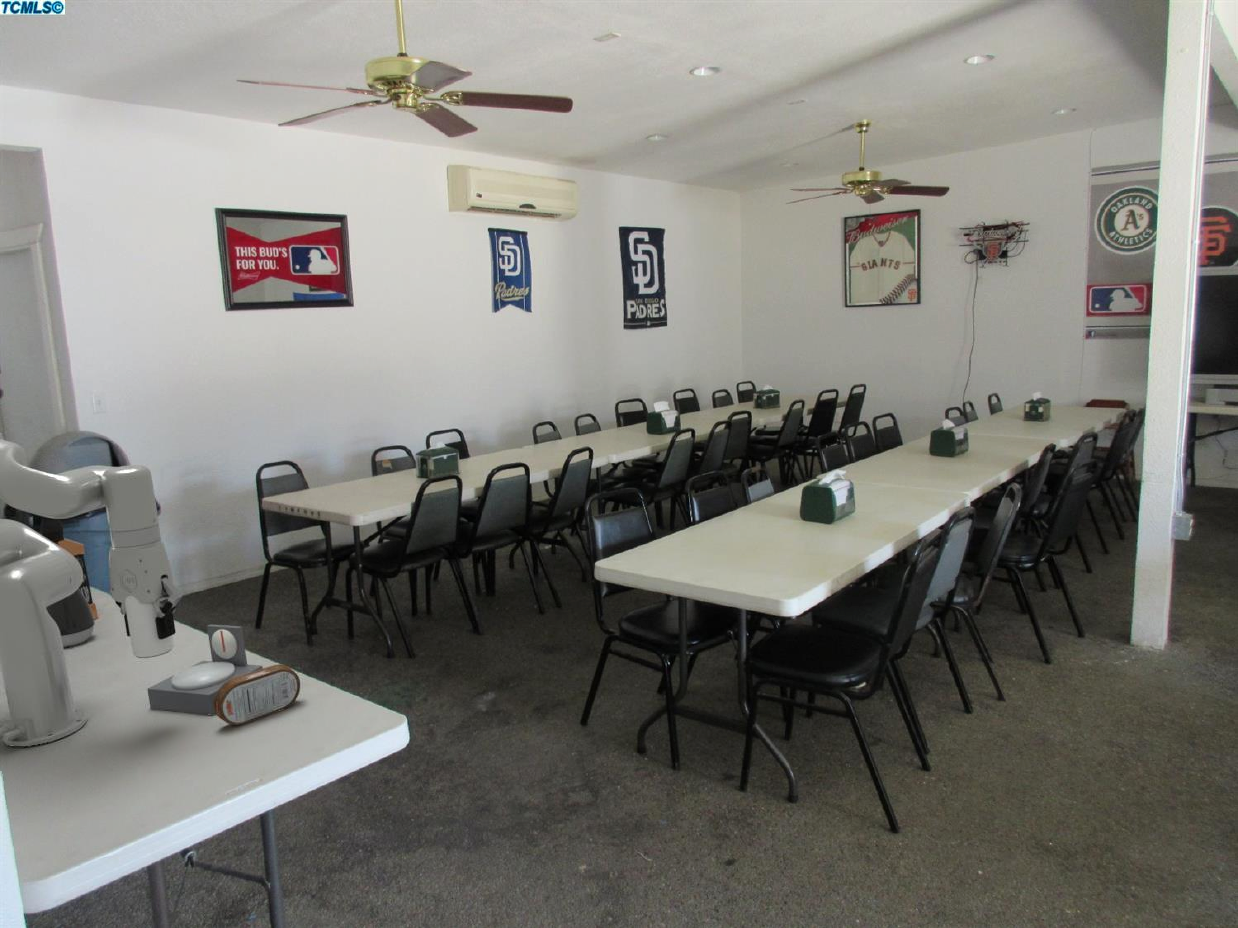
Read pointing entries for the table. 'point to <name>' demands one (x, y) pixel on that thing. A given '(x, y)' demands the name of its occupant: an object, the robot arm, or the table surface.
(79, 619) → the pump dispenser
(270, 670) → the tin
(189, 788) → the table surface
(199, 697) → the scale
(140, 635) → the can
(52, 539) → the whiskey bottle
